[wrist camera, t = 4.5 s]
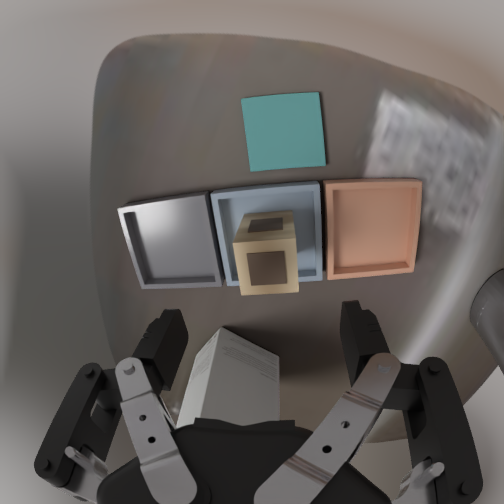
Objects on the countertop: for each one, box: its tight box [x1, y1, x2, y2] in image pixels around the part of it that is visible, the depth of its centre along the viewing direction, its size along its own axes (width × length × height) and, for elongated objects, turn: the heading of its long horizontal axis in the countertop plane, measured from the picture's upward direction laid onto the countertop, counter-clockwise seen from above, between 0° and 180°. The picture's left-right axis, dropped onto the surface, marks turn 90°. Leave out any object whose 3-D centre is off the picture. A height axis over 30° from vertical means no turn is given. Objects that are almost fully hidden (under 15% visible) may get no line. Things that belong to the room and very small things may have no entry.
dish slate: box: [211, 181, 322, 286], centre depth 23 cm, size 8×8×2 cm
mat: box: [241, 92, 326, 172], centre depth 20 cm, size 6×6×1 cm
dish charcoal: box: [118, 191, 225, 289], centre depth 24 cm, size 8×8×2 cm
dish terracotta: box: [323, 178, 422, 280], centre depth 22 cm, size 8×8×2 cm
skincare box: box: [176, 327, 279, 428], centre depth 24 cm, size 8×7×16 cm
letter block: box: [233, 210, 299, 295], centre depth 21 cm, size 4×4×6 cm
